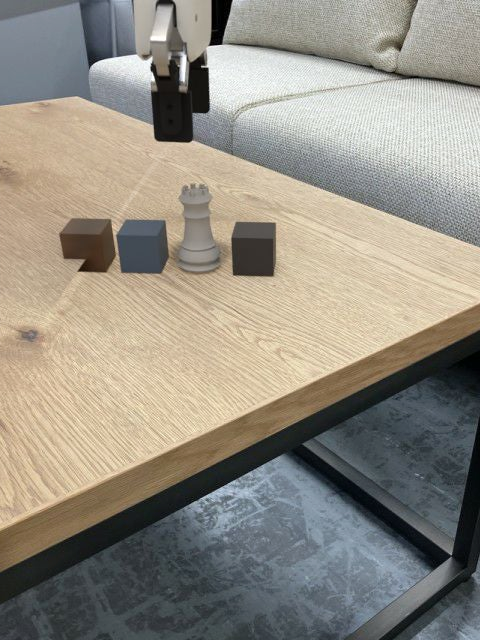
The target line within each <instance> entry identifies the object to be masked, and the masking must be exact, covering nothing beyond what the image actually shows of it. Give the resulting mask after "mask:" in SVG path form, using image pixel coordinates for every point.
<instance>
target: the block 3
mask: <svg viewBox="0 0 480 640" xmlns="http://www.w3.org/2000/svg"><path fill="white" fill-rule="evenodd" d="M234 223H235V224H234V226H233V229H232V233H231V237H230V243H231V265H232V266H231V267H232V276H233V277H236V276H237V277H238V276H239V277H274V276H275V269H276V262H277V222H272V221H271V222H269V221H268V222H267V221H235V222H234Z"/></svg>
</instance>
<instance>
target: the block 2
mask: <svg viewBox="0 0 480 640" xmlns="http://www.w3.org/2000/svg"><path fill="white" fill-rule="evenodd" d="M115 237H116V245H117V251H118V258H119V266H120V272H121V273H122V274H153V275H154V274H155V275H156V274H157V275H161V274H163V271H164V269H165V266H166V265H167V262H168V260H169V258H170V252H169V242H168V232H167V222H166V220H165V219H134V218H133V219H131V218H130V219H128V218H126V219H125V220H124V222H123V223H122V225H121V226H120V228H119V230H118V231H117V232H116V234H115Z"/></svg>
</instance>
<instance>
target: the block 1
mask: <svg viewBox="0 0 480 640" xmlns="http://www.w3.org/2000/svg"><path fill="white" fill-rule="evenodd" d="M58 235H59V236H58V237H59V241H60V246H61V251H62V257H63V259H64V260H83V262H82V263H81V265H80V266H79V268H78V269H77V272H76V273H107V272H108V270H109V268H110V267H111V265H112V264H113V262H114V260H115V258H116V257H117V252H116V251H117V250H116V245H115V239H114V232H113V224H112V219H111V218H87V217H86V218H85V217H84V218H83V217H81V218H80V217H73V218H72V217H71V218H70V219H69V221H68V222H67V223H66V224H65V225H64V227H63V228H62V229H61V230H60V231H59V233H58Z"/></svg>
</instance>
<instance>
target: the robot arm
mask: <svg viewBox="0 0 480 640" xmlns="http://www.w3.org/2000/svg"><path fill="white" fill-rule="evenodd" d="M133 21H134V22H133V23H134V42H135V43H134V44H135V53H136V55H137V56H138V58H139V59H140V60H142V61H148V60H149V59H151V58H152V59H151V63H150V66H149V70H150V73H151V74H150V99H151V111H152V112H151V114H152V125H153V137H154V140H155V141H156V142H159V143H178V144H179V143H183V144H190V143H191V142H193V140H194V135H195V134H194V115H193V114H204V115H205V114H208V113H209V112H210V111H211V96H210V95H211V94H210V92H211V91H210V67H208V52H207V51H208V50H207V48H208V47H209V45H210V44H211V38H212V0H133Z"/></svg>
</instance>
